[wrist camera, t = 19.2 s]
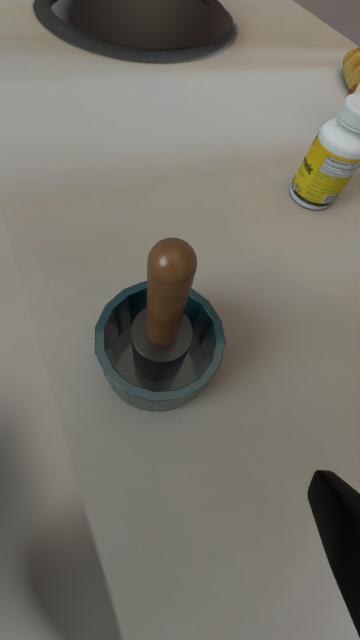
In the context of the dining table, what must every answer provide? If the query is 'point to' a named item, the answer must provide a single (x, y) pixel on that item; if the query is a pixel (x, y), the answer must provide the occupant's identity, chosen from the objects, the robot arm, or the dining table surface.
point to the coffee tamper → (165, 311)
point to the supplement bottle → (330, 158)
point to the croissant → (352, 69)
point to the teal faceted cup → (118, 352)
